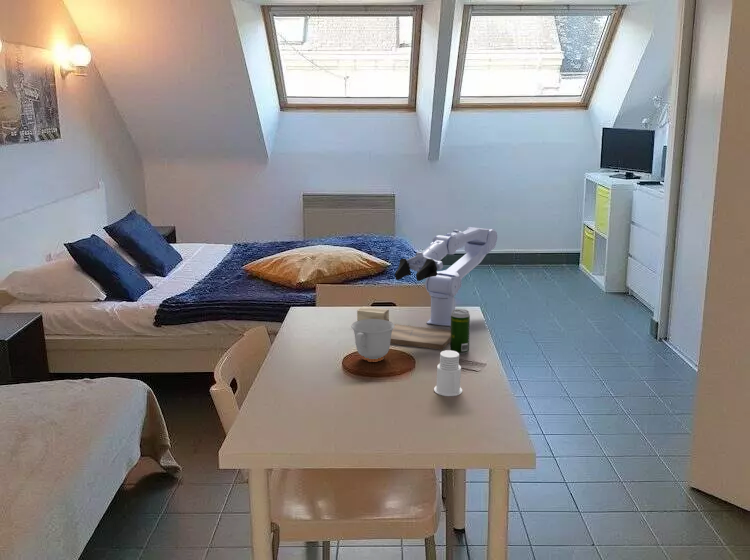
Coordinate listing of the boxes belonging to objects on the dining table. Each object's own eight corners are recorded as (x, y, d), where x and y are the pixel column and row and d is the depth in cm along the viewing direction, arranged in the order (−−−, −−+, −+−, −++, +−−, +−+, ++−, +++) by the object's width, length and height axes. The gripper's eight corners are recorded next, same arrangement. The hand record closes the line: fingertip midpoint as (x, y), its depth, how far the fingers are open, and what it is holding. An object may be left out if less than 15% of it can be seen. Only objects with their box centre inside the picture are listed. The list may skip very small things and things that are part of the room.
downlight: (427, 387, 182) (429, 350, 180) (451, 382, 185) (453, 346, 183) (443, 400, 176) (445, 361, 173) (468, 395, 178) (470, 357, 176)
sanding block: (363, 321, 238) (362, 306, 237) (388, 324, 235) (388, 309, 234) (357, 325, 234) (357, 310, 233) (383, 328, 231) (383, 313, 230)
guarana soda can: (472, 352, 208) (473, 311, 205) (459, 356, 205) (460, 315, 202) (459, 347, 212) (460, 307, 209) (446, 351, 209) (446, 311, 206)
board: (394, 328, 230) (394, 324, 229) (455, 335, 223) (455, 330, 222) (378, 341, 217) (378, 337, 217) (442, 349, 210) (442, 344, 210)
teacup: (338, 366, 198) (337, 330, 195) (364, 349, 210) (364, 316, 208) (377, 373, 192) (377, 337, 190) (401, 356, 205) (402, 322, 203)
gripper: (407, 245, 228) (383, 264, 218) (447, 245, 219) (424, 266, 209) (413, 265, 230) (389, 285, 221) (452, 266, 221) (429, 287, 212)
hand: (406, 277), depth 215 cm, fingers open, 7 cm apart
